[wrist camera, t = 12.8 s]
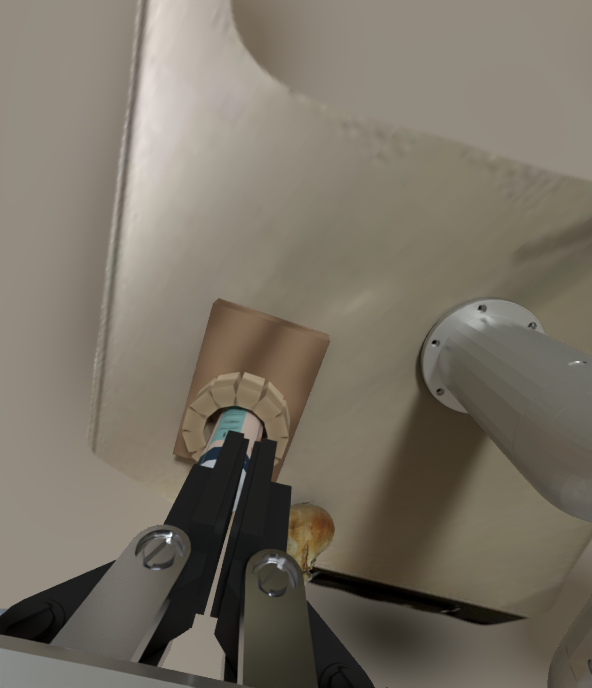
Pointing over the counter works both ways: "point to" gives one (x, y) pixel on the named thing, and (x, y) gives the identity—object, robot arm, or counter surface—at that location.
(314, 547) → the onion
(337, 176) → the counter surface
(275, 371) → the board
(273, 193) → the counter surface
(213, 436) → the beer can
